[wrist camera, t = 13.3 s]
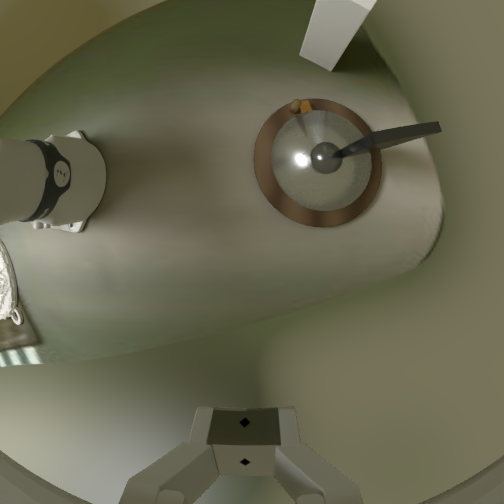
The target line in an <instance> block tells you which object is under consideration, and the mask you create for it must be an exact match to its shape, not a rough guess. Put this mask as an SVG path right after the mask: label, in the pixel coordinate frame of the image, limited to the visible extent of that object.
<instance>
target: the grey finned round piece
mask: <svg viewBox="0 0 504 504" xmlns="http://www.w3.org/2000/svg"><path fill="white" fill-rule="evenodd" d="M299 112H300V114H299V115H296V116H294V117H293V118H291V119H290V120H289V121H288V122H286V123H285V124H284V125H283V127H282V128H281V129H280V131H279V132H278V134H277V136H276V138H275V140H274V144H273V147H272V153H271V163H272V169H273V173H274V176H275V178H276V181H277V182H278V184H279V186H280V187H281V189H282V190H283V191H284V193H285V194H286V195H287V196H288V197H290V198H291V199H292V200H293V201H295V202H296V203H298V204H300V205H302V206H304V207H306V208H309V209H313V210H318V211H333V210H337V209H341V208H343V207H346V206H348V205H349V204H351V203H352V202H354V201H355V200H356V199H357V198H358V197H359V196H360V195H361V194H362V192H363V191H364V190H365V188H366V186H367V184H368V181H369V178H370V174H371V167H372V165H371V154H370V152H372V151H376V150H380V149H385V148H389V147H392V146H395V145H399V144H402V143H405V142H408V141H412V140H415V139H418V138H422V137H425V136H428V135H432V134H435V133H439V132H441V128H440V125H439V122H438V121H437V122H430V123H423V124H416V125H409V126H403V127H398V128H392V129H386V130H381V131H376V132H373V133H371V134H369V135H367V136H365V137H364V136H363V135H362V134H361V132H360V131H359V130H358V128H357V127H356V126H355V125H354V124H352V123H351V122H350V121H349V120H347V119H346V118H344V117H342V116H340V115H338V114H335V113H333V112H328V111H321V110H315V111H312V109H311V106H310V104H309V101H308V100H307V101H303V102H302V104H301V106H300V108H299Z"/></svg>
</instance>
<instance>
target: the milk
mask: <svg viewBox="0 0 504 504" xmlns="http://www.w3.org/2000/svg"><path fill="white" fill-rule="evenodd" d="M376 1H377V0H316V3H315V7H314V10H313V13H312V16H311V19H310V23H309V26H308V29H307V32H306V35H305V39H304V42H303V45H302V48H301V52H300V56H301V57H304V58H306V59H308V60H310V61H312V62H314V63H316V64H317V65H319V66H321V67H323V68H325V69H327V70H329V71H332V70H333V68H334V67H335V65H336V64H337V62H338V60H339V59H340V57H341V56H342V54H343V52H344V51H345V49H346V48H347V46H348V45H349V43H350V41H351V40H352V38H353V37H354V35H355V34H356V32H357V31H358V29H359V27H360V26H361V24H362V23H363V21H364V20H365V18H366V17H367V15H368V14H369V12H370V11H371V9H372V7H373V6H374V4H375V3H376Z"/></svg>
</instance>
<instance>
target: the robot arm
mask: <svg viewBox="0 0 504 504" xmlns="http://www.w3.org/2000/svg"><path fill="white" fill-rule="evenodd" d="M105 185H106V167H105V163H104V159H103V157H102V155H101V153H100V152H99V150H98V149H97V148H96V147H95V146H94V145H92V144H90V143H89V142H87V141H86V140H85V138H84V136H83V134H82V133H81V132H80V131H73V132H72V133H70V134H68V135H66V136H62V135H51V136H50V137H49V138H47V139H46V140H44V141H43V140H38V139H35V140H26V141H19V140H11V139H3V138H0V225H2V224H6V223H9V222H13V221H21V222H31V223H32V224H33V228H34V229H42V228H55V229H60V230H65V231H70V232H75V233H77V232H81V231H82V230H83V228H84V226H85V223H86V220H87V218H88V217H89V216H90V214H91V213H92V212H93V211H94V210H95V209H96V208H97V206H98V205H99V203H100V201H101V199H102V196H103V193H104V190H105ZM72 223H73V226H72ZM219 475H230V476H246V475H247V476H274V478H275V479H276V480H277V481H278V483H279V484H280V485H281V486H282V487H283V488H284V490H285V491H286V492H287V493H288V494H289V495H290V497H291V498H292V499H293V500H294V501H295V502H296V503H295V504H363V500H362V497H361V493H360V489H359V486H358V485H357V484H356V483H355V482H353V481H352V480H350V479H349V478H348V477H346V476H345V475H344V474H343V473H341V472H340V471H339V470H337V469H336V468H335V467H333V466H332V465H331V464H329V463H328V462H327V461H326V460H324V459H323V458H322V457H321V456H320V455H319V454H317V453H316V452H315V451H314V450H313V449H311V448H310V447H309V446H308V445H307V444H301V442H300V435H299V429H298V423H297V416H296V410H295V407H294V406H291V407H278V408H277V407H276V408H246V409H245V408H222V407H205V406H199V407H198V408H197V410H196V413H195V417H194V421H193V425H192V428H191V432H190V436H189V439H188V443H187V442H186V443H185V442H182V443H181V444H180V445H178V446H177V447H176V448H174V449H173V450H172V451H170V452H169V453H167V454H166V455H164V456H163V457H162V458H160V459H159V460H157V461H156V462H154V463H153V464H151V465H150V466H149V467H147V468H146V469H144V470H142V471H141V472H139V473H138V474H136V475H135V476H133V477H132V478H130V479H129V480H128V482H127V484H126V487H125V489H124V492H123V494H122V497H121V499H120V502H119V504H193V503H194V502H195V501H196V500H197V499H198V498H199V497H200V496H201V495H202V494H203V493H204V492H205V491H206V490H207V489H208V488H209V487H210V486H211V485H212V484H213V483H214V482H215V481H216V479H217V478H218V477H219ZM0 504H92V503H90V502H87V501H85V500H83V499H81V498H78V497H76V496H74V495H72V494H70V493H68V492H66V491H64V490H62V489H60V488H58V487H56V486H54V485H53V484H51V483H49V482H47V481H45V480H44V479H42V478H40V477H39V476H37V475H35V474H34V473H32V472H30V471H29V470H27V469H26V468H24V467H23V466H21V465H20V464H18V463H17V462H15V461H14V460H12V459H11V458H10V457H8V456H7V455H6V454H4V453H3V452H2V451H0ZM419 504H504V455H503V456H502V457H501V458H499V459H498V460H496V461H495V462H494V463H492V464H491V465H490V466H488V467H486V468H485V469H483V470H482V471H480V472H479V473H477V474H475V475H474V476H472V477H470V478H469V479H467V480H465V481H464V482H462V483H460V484H458V485H456V486H454V487H453V488H451V489H449V490H447V491H445V492H443V493H441V494H439V495H437V496H435V497H432V498H430V499H428V500H426V501H423V502H421V503H419Z"/></svg>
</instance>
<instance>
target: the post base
mask: <svg viewBox="0 0 504 504" xmlns="http://www.w3.org/2000/svg"><path fill="white" fill-rule="evenodd" d="M307 100H308V101H309V104H310V106H311V109H312V111H315V110H321V111H328V112H333V113H335V114H338V115H340V116H342V117H344V118H346V119H347V120H349V121H350V122H351V123H352V124H354V125H355V126H356V127H357V128H358V130H359V131H360V132H361V134H362V135H363V136H364V137H365V136H367V135H369V134H371V133H372V132H371V130H370V129H369V127H368V126H367V125H366V123H365V122H364V121H363V120H362V119H361V118H360V117H359V116H358V115H357V114H355V113H354V112H353V111H351V110H350V109H348V108H347V107H345V106H343V105H341V104H338V103H336V102H333V101H329V100H324V99H303V100H299V99H295V100H294V101H293V102H292V103H289V104H287V105H285V106H283V107H282V108H280V109H278V110H277V111H276V112H275V113H274V114H272V115H271V116H270V118H269V119H268V120H267V121H266V122H265V124H264V125H263V127H262V128H261V130H260V133H259V135H258V137H257V140H256V144H255V149H254V168H255V173H256V177H257V180H258V183H259V186H260V188H261V190H262V192H263V193H264V195H265V196H266V198H267V199H268V201H269V202H270V203H271V204H272V205H273V206H274V207H275V208H276V209H277V210H278V211H279V212H281V213H282V214H283V215H285V216H287V217H288V218H290V219H292V220H294V221H296V222H298V223H301V224H304V225H308V226H313V227H332V226H336V225H340V224H343V223H346V222H348V221H350V220H352V219H354V218H355V217H356V216H358V215H359V214H361V213H362V212H363V211H364V210H365V209H366V208H367V207H368V205H369V204H370V203H371V201H372V200H373V198H374V196H375V194H376V192H377V190H378V187H379V184H380V180H381V173H382V162H381V154H380V150H376V151H372V152H370V154H371V165H372V167H371V174H370V178H369V181H368V184H367V186H366V188H365V190H364V191H363V192H362V194H361V195H360V196H359V197H358V198H357V199H356V200H355V201H354V202H352V203H351V204H349V205H348V206H346V207H343V208H341V209H337V210H333V211H318V210H313V209H309V208H306V207H304V206H302V205H300V204H298V203H296V202H295V201H293V200H292V199H291V198H290V197H288V196H287V195H286V194H285V193H284V191H283V190H282V189H281V187H280V186H279V184H278V182H277V181H276V178H275V176H274V173H273V169H272V163H271V153H272V147H273V144H274V140H275V138H276V136H277V134H278V132H279V131H280V129H281V128H282V127H283V125H284V124H285V123H286V122H288V121H289V120H290V119H291V118H293V117H294V116H296V115H299V114H300V112H299V108H300V106H301V104H302V102H303V101H307Z"/></svg>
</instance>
